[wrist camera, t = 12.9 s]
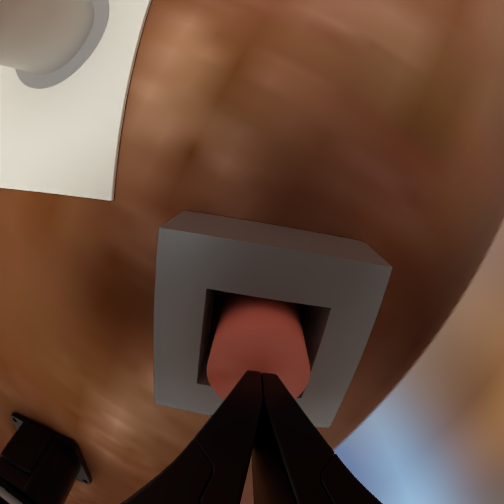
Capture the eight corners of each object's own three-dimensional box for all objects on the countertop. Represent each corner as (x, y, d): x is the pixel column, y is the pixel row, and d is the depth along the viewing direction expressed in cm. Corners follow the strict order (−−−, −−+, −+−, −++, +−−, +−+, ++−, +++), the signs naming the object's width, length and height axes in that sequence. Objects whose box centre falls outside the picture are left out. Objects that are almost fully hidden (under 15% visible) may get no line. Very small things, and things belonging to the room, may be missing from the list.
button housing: (319, 382, 14) (329, 427, 11) (172, 360, 14) (154, 403, 11) (363, 241, 12) (392, 266, 9) (184, 210, 12) (158, 227, 9)
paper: (113, 200, 11) (110, 201, 11) (-19, 185, 11) (-23, 185, 11) (165, -38, 8) (163, -42, 8) (20, -5, 8) (17, -6, 8)
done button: (288, 347, 13) (296, 414, 9) (218, 336, 13) (202, 402, 9) (305, 284, 12) (322, 340, 8) (227, 271, 12) (211, 323, 8)
